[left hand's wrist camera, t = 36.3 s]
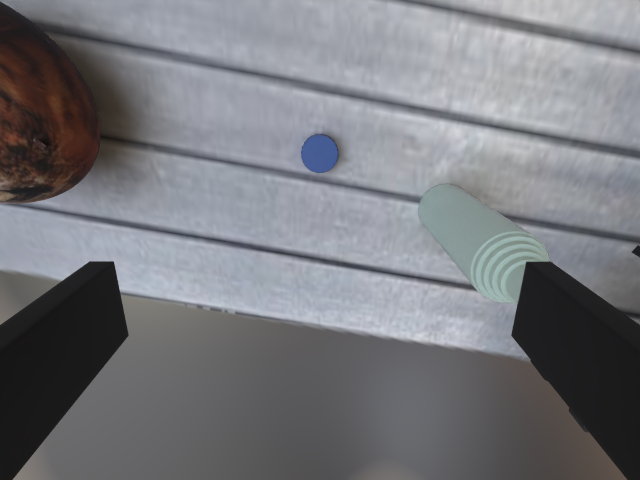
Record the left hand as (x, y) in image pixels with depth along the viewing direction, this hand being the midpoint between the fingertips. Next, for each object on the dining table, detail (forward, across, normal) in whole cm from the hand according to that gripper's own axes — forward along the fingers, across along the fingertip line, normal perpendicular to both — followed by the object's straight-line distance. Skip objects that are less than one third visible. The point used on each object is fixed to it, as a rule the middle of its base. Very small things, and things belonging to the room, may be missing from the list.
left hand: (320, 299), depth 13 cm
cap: (+35, 0, 0) cm, 35 cm away
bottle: (+37, +16, -7) cm, 41 cm away
